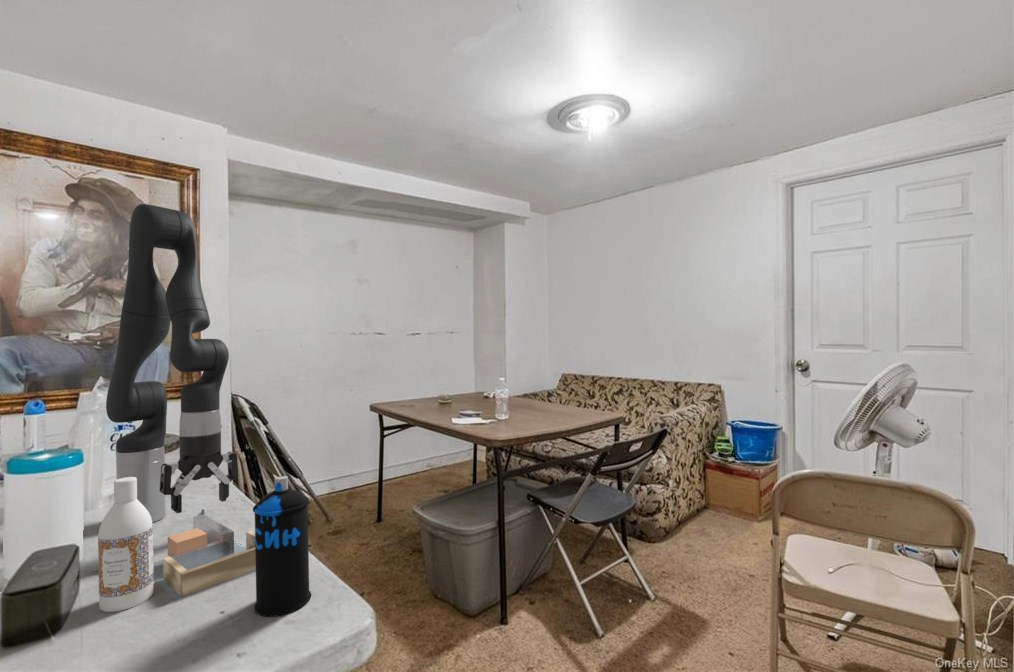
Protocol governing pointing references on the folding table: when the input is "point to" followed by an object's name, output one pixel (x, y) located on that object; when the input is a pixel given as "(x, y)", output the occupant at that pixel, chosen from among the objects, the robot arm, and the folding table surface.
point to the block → (186, 541)
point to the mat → (159, 569)
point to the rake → (208, 544)
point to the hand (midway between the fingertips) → (200, 506)
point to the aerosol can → (281, 551)
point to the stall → (210, 570)
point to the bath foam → (125, 551)
